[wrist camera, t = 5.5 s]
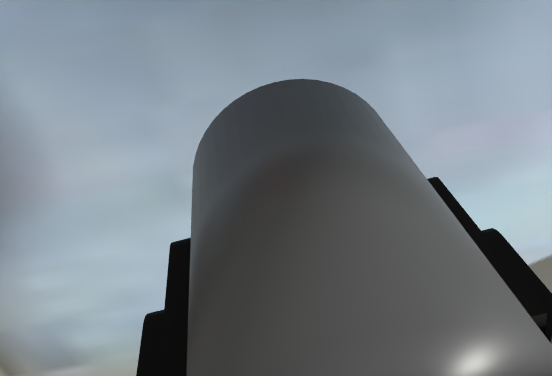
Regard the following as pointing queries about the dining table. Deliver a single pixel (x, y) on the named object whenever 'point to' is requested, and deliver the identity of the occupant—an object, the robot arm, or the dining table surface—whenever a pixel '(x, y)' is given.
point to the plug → (337, 253)
